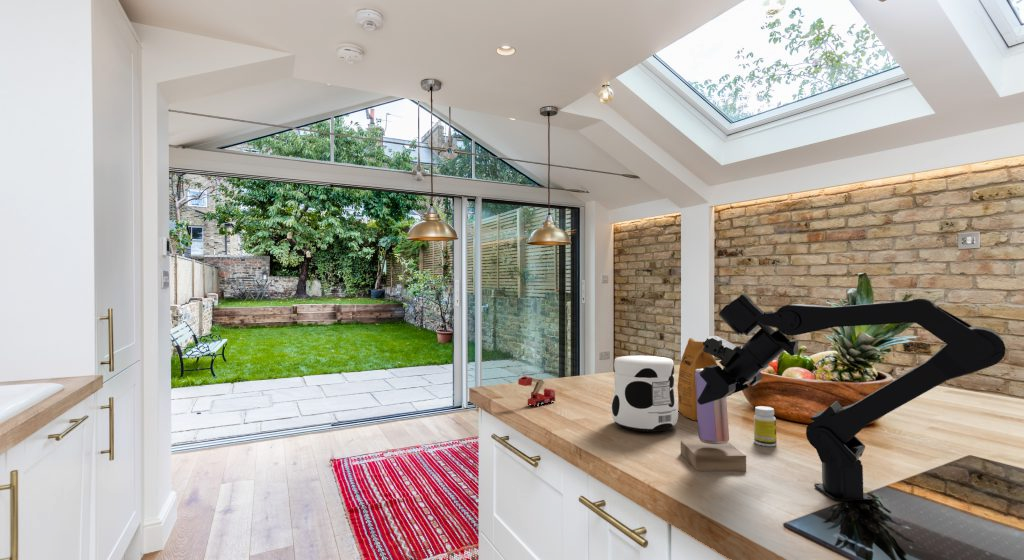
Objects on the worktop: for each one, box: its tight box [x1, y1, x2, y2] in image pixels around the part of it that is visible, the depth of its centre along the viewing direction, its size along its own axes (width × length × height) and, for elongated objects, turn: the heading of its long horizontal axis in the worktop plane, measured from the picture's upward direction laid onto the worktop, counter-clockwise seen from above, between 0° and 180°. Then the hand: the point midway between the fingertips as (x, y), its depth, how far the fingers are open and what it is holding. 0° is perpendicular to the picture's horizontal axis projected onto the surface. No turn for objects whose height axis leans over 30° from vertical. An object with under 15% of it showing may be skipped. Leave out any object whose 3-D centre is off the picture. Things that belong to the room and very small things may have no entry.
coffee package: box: [676, 337, 719, 421], centre depth 139 cm, size 10×12×22 cm
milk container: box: [610, 355, 679, 433], centre depth 129 cm, size 17×17×18 cm
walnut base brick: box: [680, 439, 747, 472], centre depth 103 cm, size 10×10×3 cm
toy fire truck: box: [517, 375, 556, 405], centre depth 154 cm, size 3×14×10 cm, turn 130°
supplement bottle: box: [753, 405, 777, 447], centre depth 114 cm, size 5×5×8 cm
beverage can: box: [695, 369, 730, 444], centre depth 102 cm, size 6×6×15 cm
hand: (705, 400), depth 104 cm, fingers closed on beverage can, 5 cm apart
